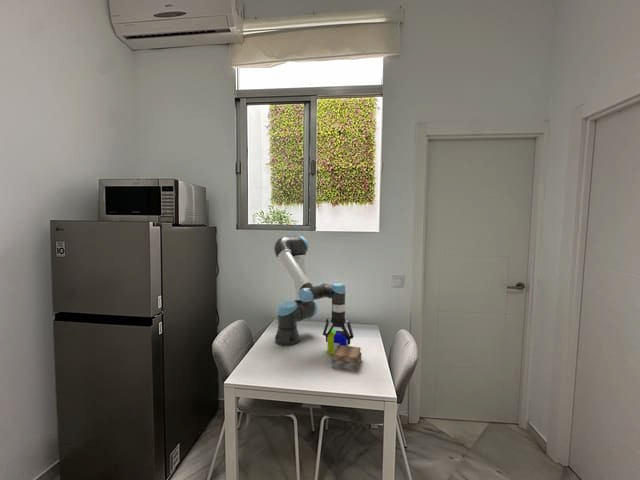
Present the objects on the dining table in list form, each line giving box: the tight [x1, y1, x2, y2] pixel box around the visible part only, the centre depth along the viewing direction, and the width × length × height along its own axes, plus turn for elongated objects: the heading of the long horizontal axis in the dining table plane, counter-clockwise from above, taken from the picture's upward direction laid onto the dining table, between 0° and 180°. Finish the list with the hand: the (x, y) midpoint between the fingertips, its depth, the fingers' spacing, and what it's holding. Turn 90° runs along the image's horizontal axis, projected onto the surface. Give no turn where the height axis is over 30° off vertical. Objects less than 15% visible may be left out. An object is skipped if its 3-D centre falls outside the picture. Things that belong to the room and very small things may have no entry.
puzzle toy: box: [327, 329, 347, 355], centre depth 175 cm, size 10×10×10 cm
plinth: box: [331, 345, 362, 373], centre depth 160 cm, size 13×13×7 cm
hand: (337, 348), depth 175 cm, fingers closed on puzzle toy, 10 cm apart
